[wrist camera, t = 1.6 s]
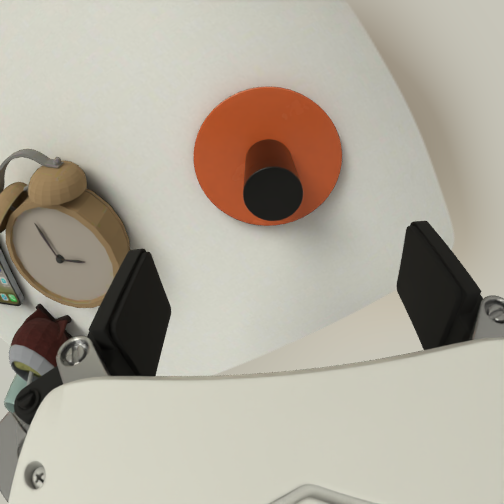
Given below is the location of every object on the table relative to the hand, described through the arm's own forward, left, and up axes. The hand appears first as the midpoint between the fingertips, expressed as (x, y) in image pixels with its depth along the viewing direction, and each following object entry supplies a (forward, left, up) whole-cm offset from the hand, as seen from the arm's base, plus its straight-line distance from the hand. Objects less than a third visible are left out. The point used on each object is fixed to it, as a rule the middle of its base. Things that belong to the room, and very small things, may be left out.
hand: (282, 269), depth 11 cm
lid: (0, 0, -12) cm, 12 cm away
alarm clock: (+2, -18, -12) cm, 21 cm away
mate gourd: (+15, -27, -12) cm, 33 cm away
